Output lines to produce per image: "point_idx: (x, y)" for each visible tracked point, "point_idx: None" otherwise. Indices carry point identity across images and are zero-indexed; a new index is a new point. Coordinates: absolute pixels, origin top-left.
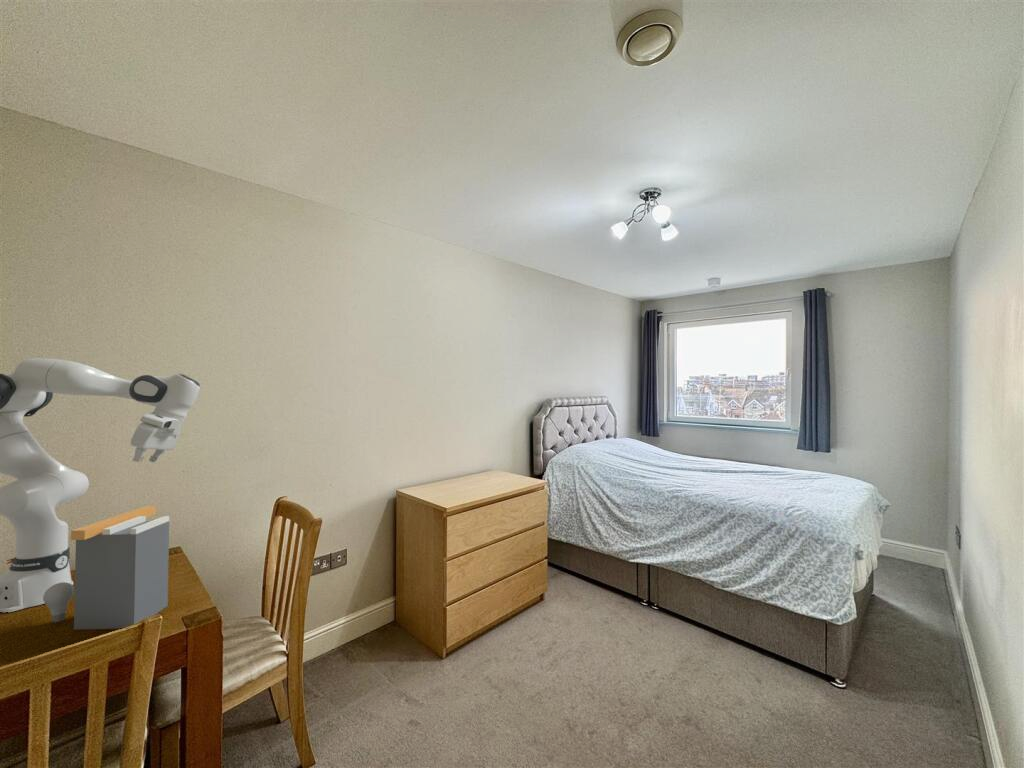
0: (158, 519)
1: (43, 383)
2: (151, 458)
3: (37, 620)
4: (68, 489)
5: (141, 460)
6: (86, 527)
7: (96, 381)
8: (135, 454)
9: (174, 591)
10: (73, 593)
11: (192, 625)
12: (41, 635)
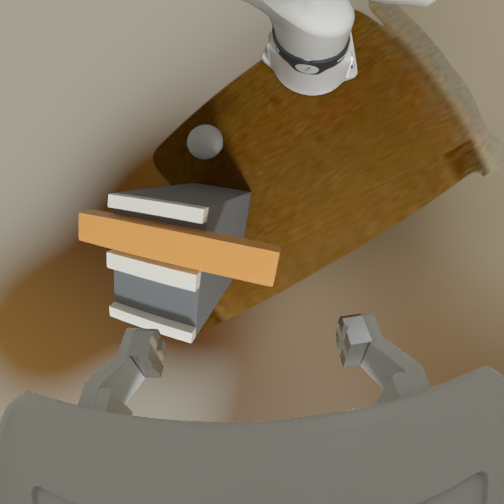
0: (165, 331)
1: None
2: (346, 335)
3: (230, 113)
4: None
5: (162, 357)
6: (92, 228)
7: None
8: (113, 361)
9: (290, 255)
10: (209, 158)
11: None
12: (186, 153)
